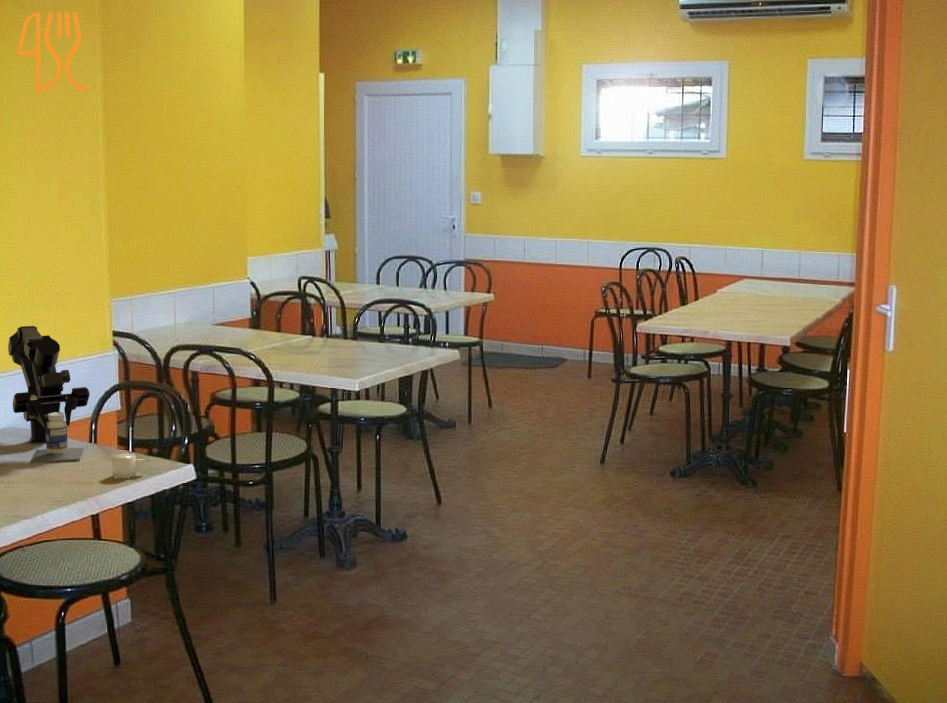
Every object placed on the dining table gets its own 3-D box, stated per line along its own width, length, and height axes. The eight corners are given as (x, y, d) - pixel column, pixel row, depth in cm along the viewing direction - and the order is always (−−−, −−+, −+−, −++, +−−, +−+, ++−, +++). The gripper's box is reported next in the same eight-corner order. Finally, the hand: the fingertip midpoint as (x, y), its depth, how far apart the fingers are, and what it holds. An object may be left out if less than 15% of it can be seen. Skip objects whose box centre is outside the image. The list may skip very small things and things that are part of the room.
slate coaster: (36, 451, 313) (36, 449, 313) (83, 449, 316) (83, 447, 316) (30, 463, 302) (30, 461, 302) (79, 460, 305) (79, 458, 305)
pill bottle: (47, 448, 311) (45, 412, 309) (68, 446, 312) (67, 411, 311) (45, 453, 306) (44, 416, 304) (67, 451, 307) (66, 415, 305)
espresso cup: (113, 473, 293) (112, 454, 292) (145, 472, 295) (145, 452, 294) (111, 479, 288) (111, 459, 287) (144, 477, 290) (144, 458, 289)
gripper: (12, 362, 303) (22, 413, 296) (86, 357, 313) (98, 405, 306) (8, 387, 311) (18, 436, 304) (80, 381, 321) (92, 429, 314)
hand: (57, 426), depth 307 cm, fingers closed on pill bottle, 5 cm apart
